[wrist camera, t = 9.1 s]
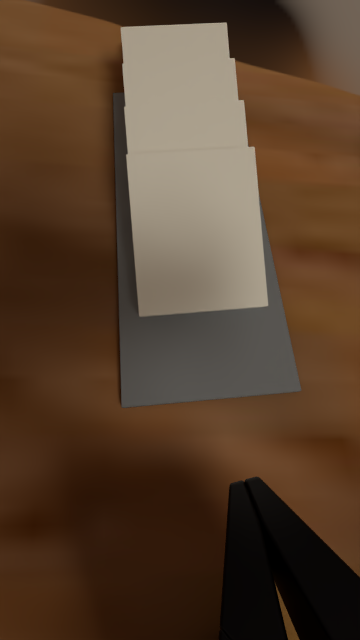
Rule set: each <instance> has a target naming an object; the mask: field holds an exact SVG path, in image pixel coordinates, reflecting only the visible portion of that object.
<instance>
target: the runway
mask: <svg viewBox="0 0 360 640" xmlns="http://www.w3.org/2000/svg"><path fill="white" fill-rule="evenodd" d="M125 106H126V105H125V93H113V108H114V145H115V182H116V218H117V255H118V291H119V328H120V364H121V401H122V408H127V407H138V406H148V405H159V404H170V403H181V402H192V401H202V400H213V399H224V398H235V397H246V396H256V395H267V394H278V393H289V392H299V391H301V387H300V382H299V378H298V373H297V368H296V364H295V359H294V355H293V350H292V345H291V341H290V336H289V331H288V327H287V322H286V318H285V313H284V308H283V304H282V299H281V295H280V290H279V285H278V281H277V276H276V271H275V267H274V262H273V258H272V253H271V248H270V244H269V239H268V235H267V230H266V225H265V221H264V216H263V211H262V207H261V202H260V198H259V205H260V216H261V228H262V239H263V251H264V262H265V274H266V285H267V297H268V306H266V307H259V308H247V309H235V310H222V311H210V312H198V313H185V314H173V315H161V316H148V317H139V308H138V296H137V283H136V271H135V259H134V246H133V234H132V221H131V209H130V196H129V184H128V171H127V159H126V154H128V149H127V137H126V124H125V112H124V107H125Z"/></svg>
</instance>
